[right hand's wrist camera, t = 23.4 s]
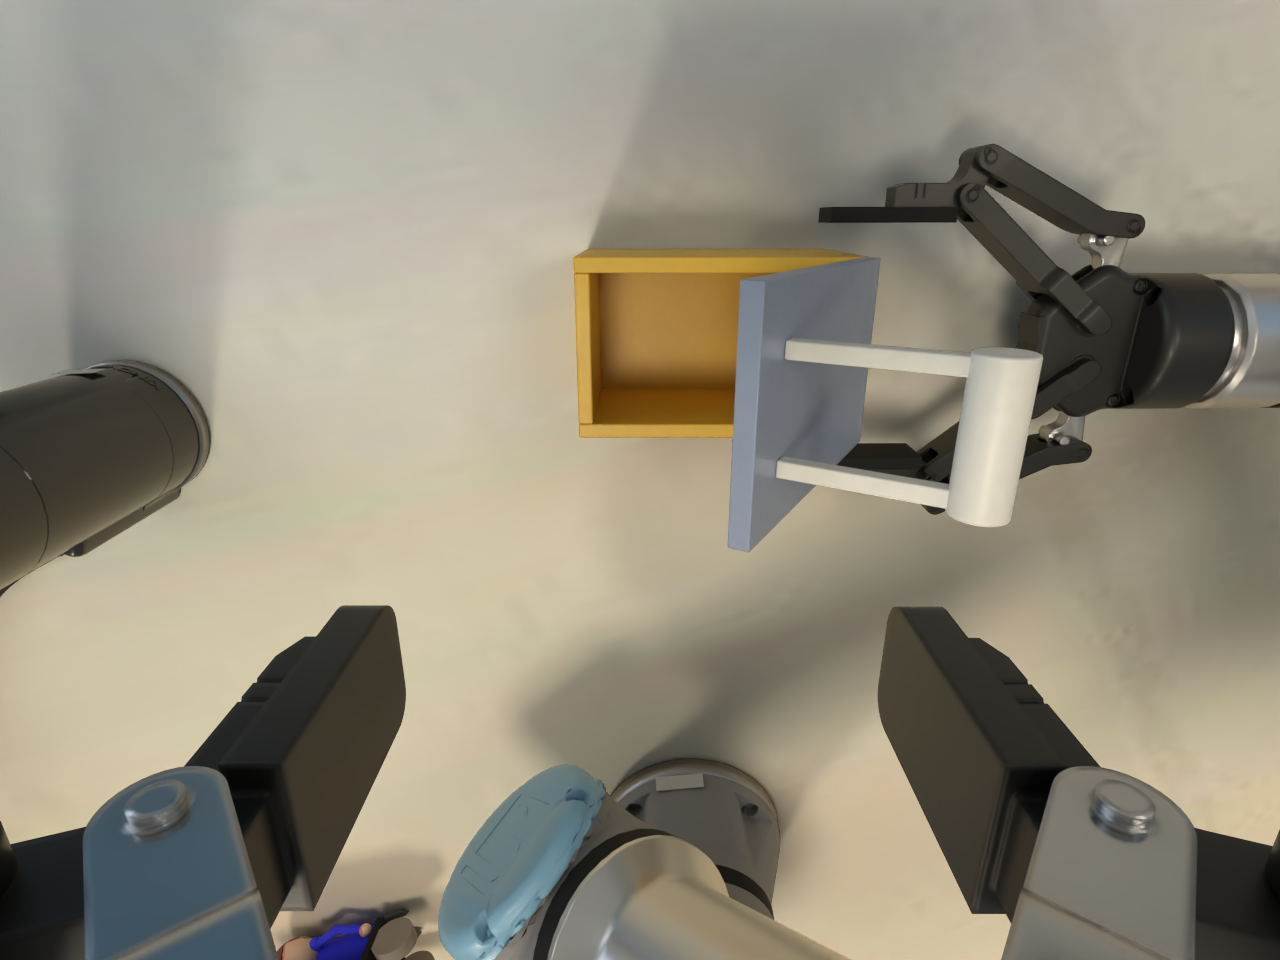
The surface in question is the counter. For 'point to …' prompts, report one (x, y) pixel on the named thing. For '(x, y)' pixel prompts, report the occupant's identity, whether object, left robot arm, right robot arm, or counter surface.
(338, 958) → the figurine character
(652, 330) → the chest
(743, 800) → the left robot arm
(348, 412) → the counter surface
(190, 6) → the counter surface
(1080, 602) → the counter surface
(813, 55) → the counter surface
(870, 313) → the lid
